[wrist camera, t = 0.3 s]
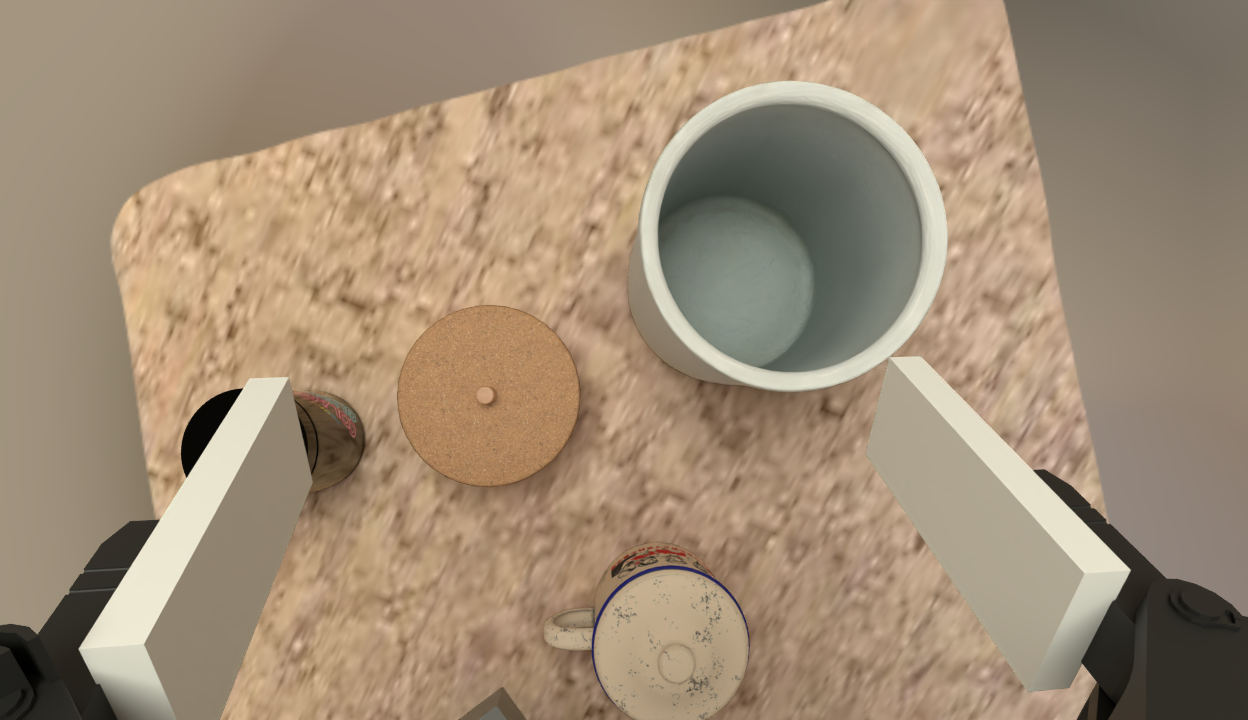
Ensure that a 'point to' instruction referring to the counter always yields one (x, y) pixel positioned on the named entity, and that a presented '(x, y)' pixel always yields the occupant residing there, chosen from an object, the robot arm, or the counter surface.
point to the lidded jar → (488, 396)
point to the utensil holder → (786, 240)
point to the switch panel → (495, 708)
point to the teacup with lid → (660, 635)
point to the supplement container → (323, 426)
